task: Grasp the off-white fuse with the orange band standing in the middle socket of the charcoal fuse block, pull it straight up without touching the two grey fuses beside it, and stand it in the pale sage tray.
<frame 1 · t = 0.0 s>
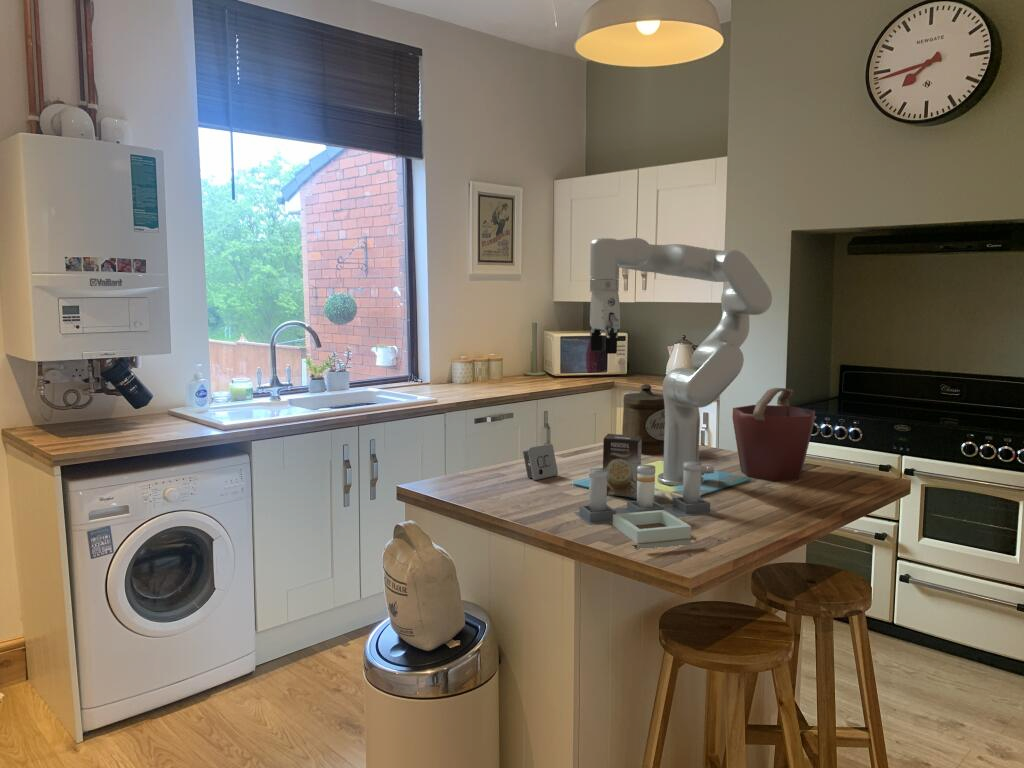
hand: (603, 351, 205), 37 cm above the worktop, tool pointing down, fingers open, 9 cm apart
electrical switch: (539, 477, 222), on the worktop
bucket: (773, 475, 225), on the worktop
fuse block: (645, 518, 182), on the worktop
wooden container: (644, 450, 258), on the worktop
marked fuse: (645, 512, 182), point 1 cm above the worktop, touching fuse block
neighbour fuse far: (597, 516, 178), point 1 cm above the worktop, touching fuse block
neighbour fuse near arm: (691, 508, 185), point 1 cm above the worktop, touching fuse block
coffee box: (620, 498, 199), on the worktop
tray: (650, 538, 168), on the worktop
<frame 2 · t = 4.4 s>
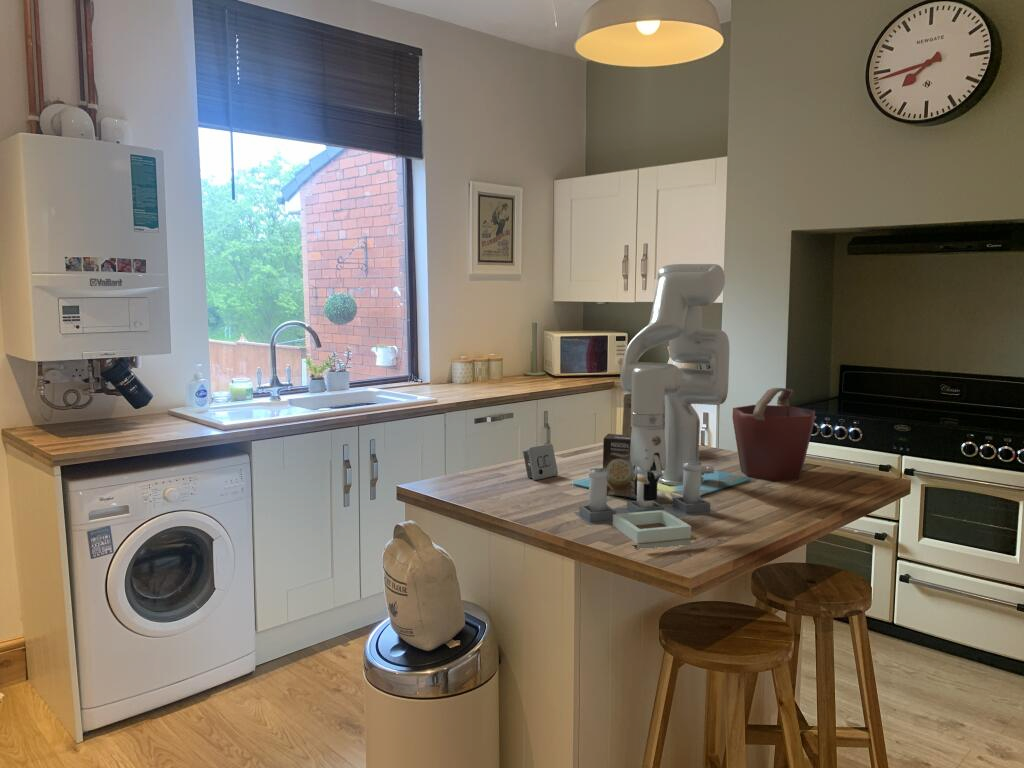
hand: (645, 496, 181), 5 cm above the worktop, tool pointing down, fingers closed on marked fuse, 4 cm apart
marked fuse: (645, 512, 182), point 1 cm above the worktop, touching fuse block, gripper
everything else where it was.
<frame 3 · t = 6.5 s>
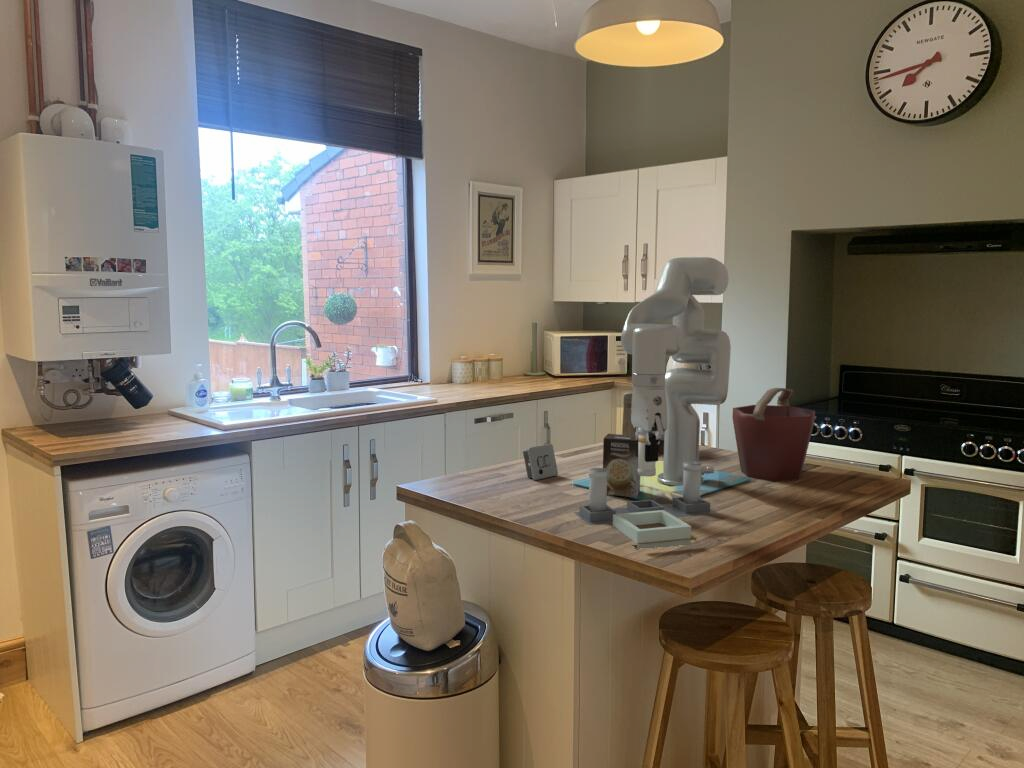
hand: (646, 458, 180), 14 cm above the worktop, tool pointing down, fingers closed on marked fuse, 4 cm apart
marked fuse: (646, 474, 181), point 11 cm above the worktop, touching gripper
everything else where it was.
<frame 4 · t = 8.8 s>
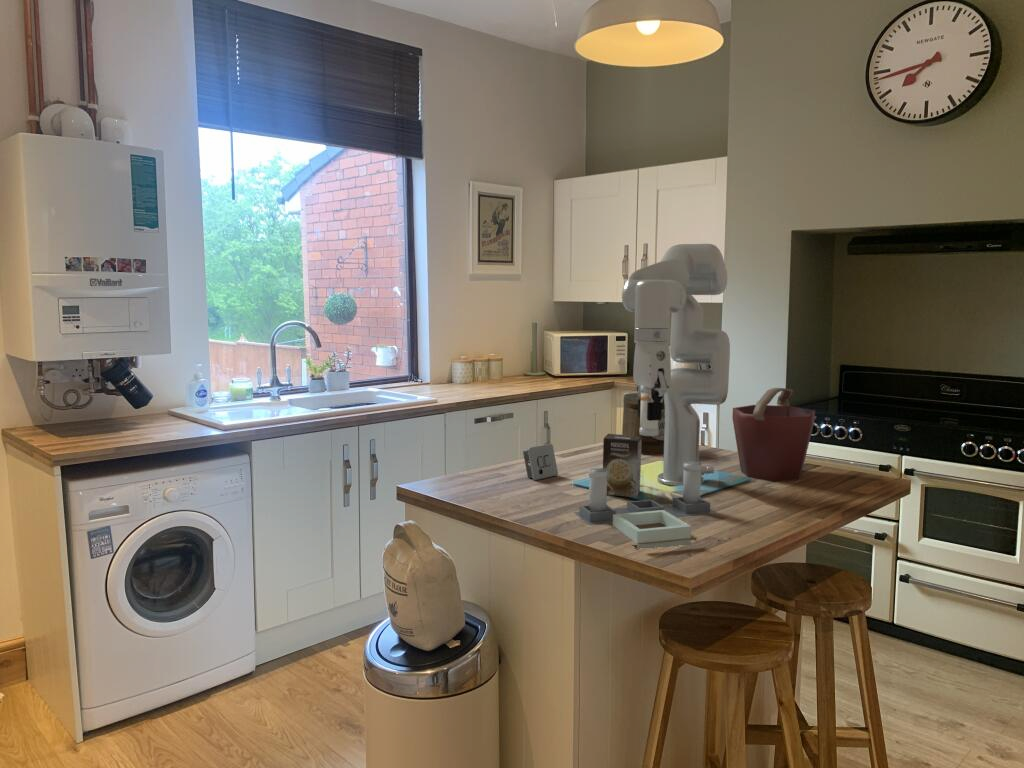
hand: (649, 417, 173), 25 cm above the worktop, tool pointing down, fingers closed on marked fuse, 4 cm apart
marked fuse: (648, 434, 174), point 21 cm above the worktop, touching gripper
everything else where it was.
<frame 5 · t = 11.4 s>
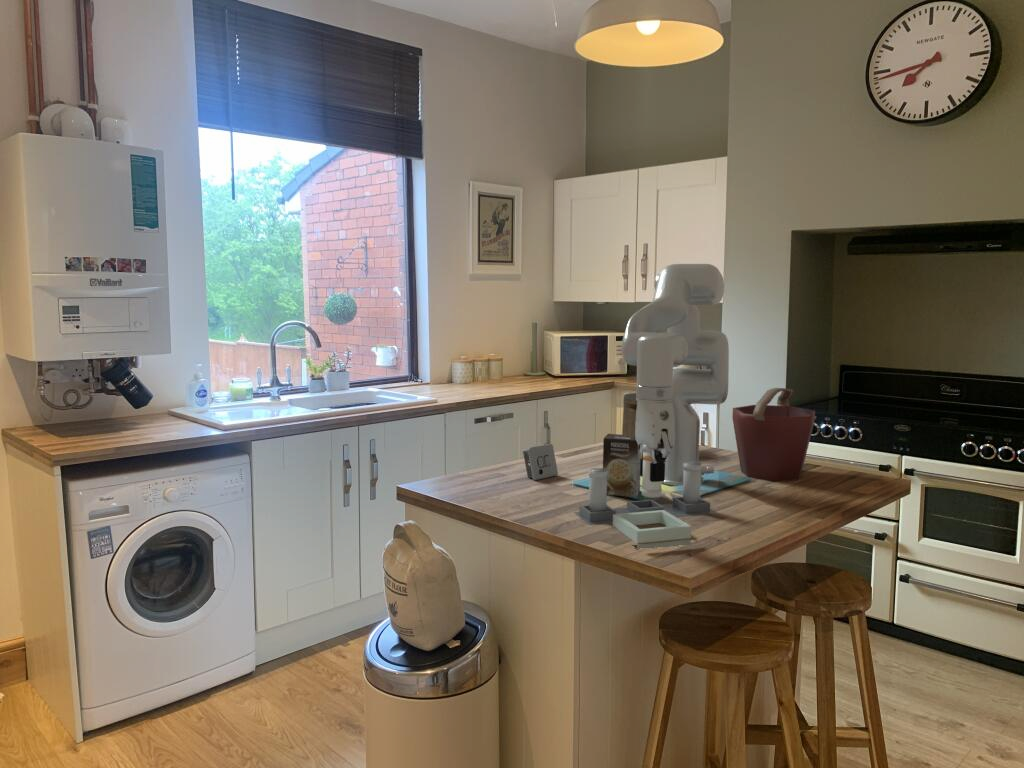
hand: (652, 477, 166), 13 cm above the worktop, tool pointing down, fingers closed on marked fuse, 4 cm apart
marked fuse: (651, 494, 167), point 10 cm above the worktop, touching gripper
everything else where it was.
when the fingers open (6 cm above the worktop, at t = 13.5 s): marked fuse drops 1 cm, resting on tray.
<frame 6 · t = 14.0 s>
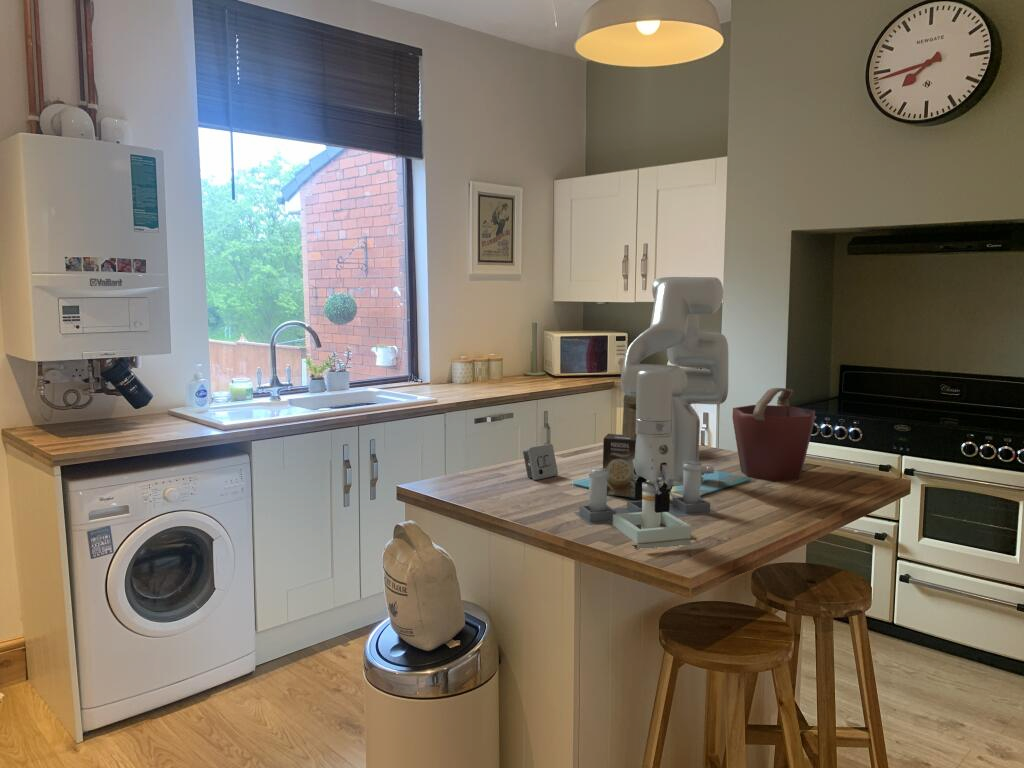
hand: (651, 505, 167), 7 cm above the worktop, tool pointing down, fingers open, 9 cm apart
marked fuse: (650, 533, 168), point 1 cm above the worktop, touching tray
everything else where it was.
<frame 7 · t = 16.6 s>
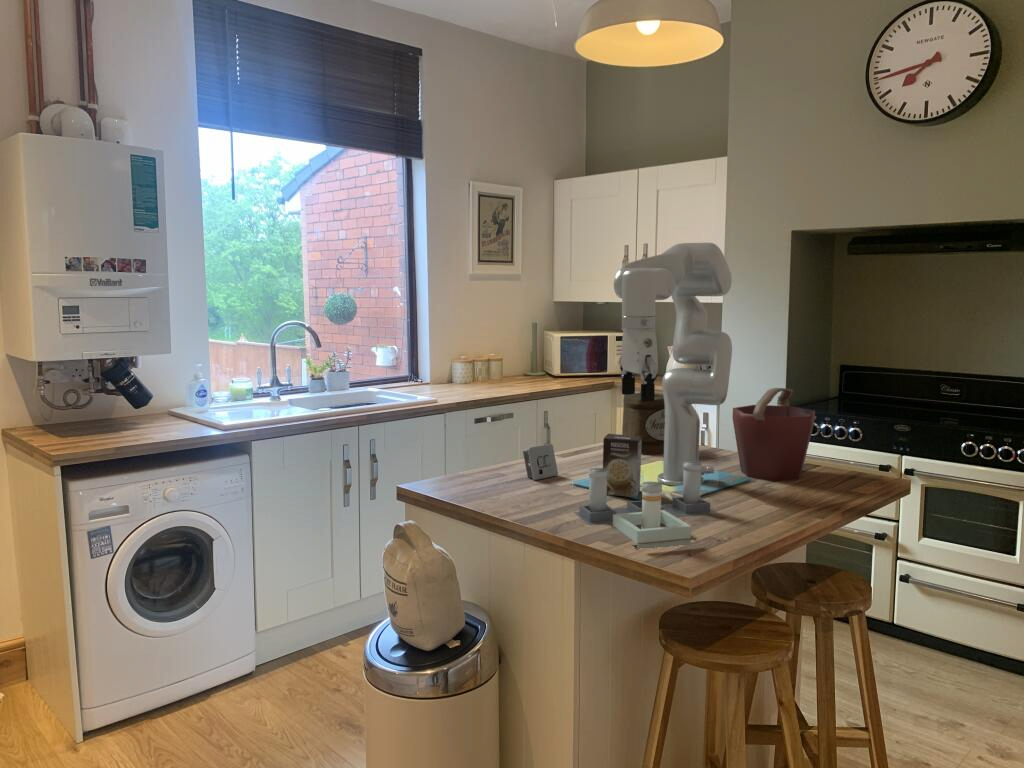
hand: (637, 397, 180), 28 cm above the worktop, tool pointing down, fingers open, 9 cm apart
nothing on the worktop moved.
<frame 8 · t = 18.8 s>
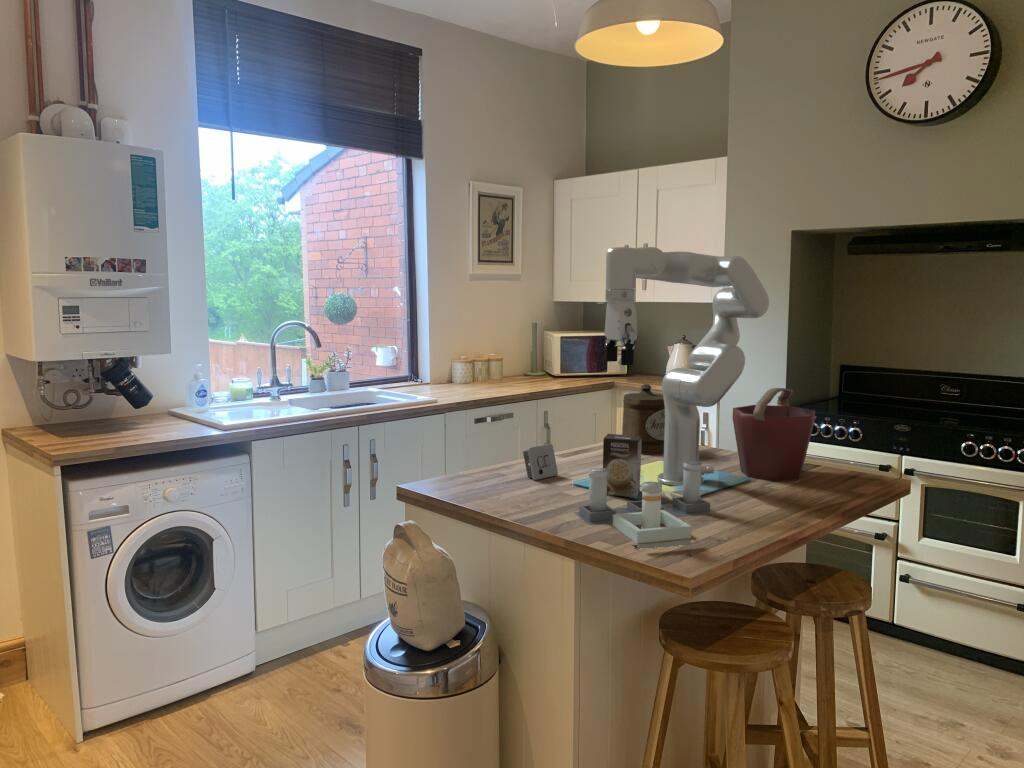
hand: (619, 363, 200), 34 cm above the worktop, tool pointing down, fingers open, 9 cm apart
nothing on the worktop moved.
at the end: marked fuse inside the target area on the tray (0.0 cm from its centre), point 1.0 cm above the tray's base; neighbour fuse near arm moved 0.0 cm from its start; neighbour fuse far moved 0.0 cm from its start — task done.
